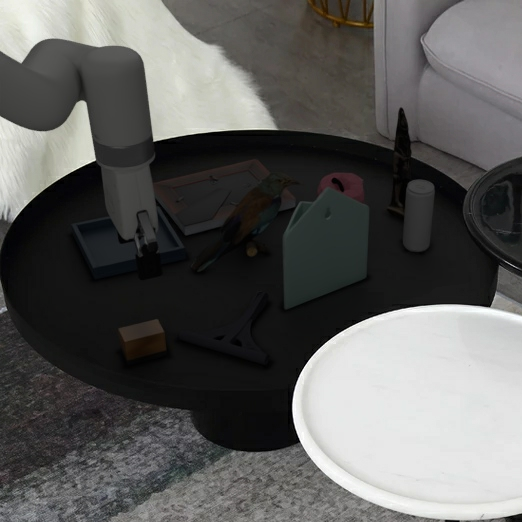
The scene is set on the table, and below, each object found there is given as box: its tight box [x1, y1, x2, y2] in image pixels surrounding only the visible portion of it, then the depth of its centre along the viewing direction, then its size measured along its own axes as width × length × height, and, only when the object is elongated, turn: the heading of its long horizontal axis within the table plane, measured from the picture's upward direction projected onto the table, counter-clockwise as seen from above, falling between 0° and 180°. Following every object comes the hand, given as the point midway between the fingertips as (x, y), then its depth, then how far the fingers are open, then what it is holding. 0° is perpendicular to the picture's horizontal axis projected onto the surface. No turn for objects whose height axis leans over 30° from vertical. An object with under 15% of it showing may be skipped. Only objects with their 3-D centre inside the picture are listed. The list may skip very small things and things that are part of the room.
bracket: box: [178, 290, 270, 366], centre depth 155 cm, size 14×15×3 cm
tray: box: [70, 205, 187, 280], centre depth 171 cm, size 16×15×2 cm
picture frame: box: [152, 158, 297, 237], centre depth 183 cm, size 16×2×22 cm
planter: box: [282, 187, 370, 310], centre depth 160 cm, size 16×8×20 cm, turn 127°
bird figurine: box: [190, 171, 303, 273], centre depth 168 cm, size 13×10×20 cm
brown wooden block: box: [117, 318, 168, 366], centre depth 149 cm, size 6×4×4 cm, turn 117°
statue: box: [386, 106, 413, 220], centre depth 177 cm, size 4×7×20 cm, turn 49°
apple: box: [316, 172, 366, 205], centre depth 177 cm, size 10×9×10 cm
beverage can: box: [402, 179, 436, 253], centre depth 172 cm, size 5×5×12 cm
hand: (140, 258), depth 139 cm, fingers open, 9 cm apart
